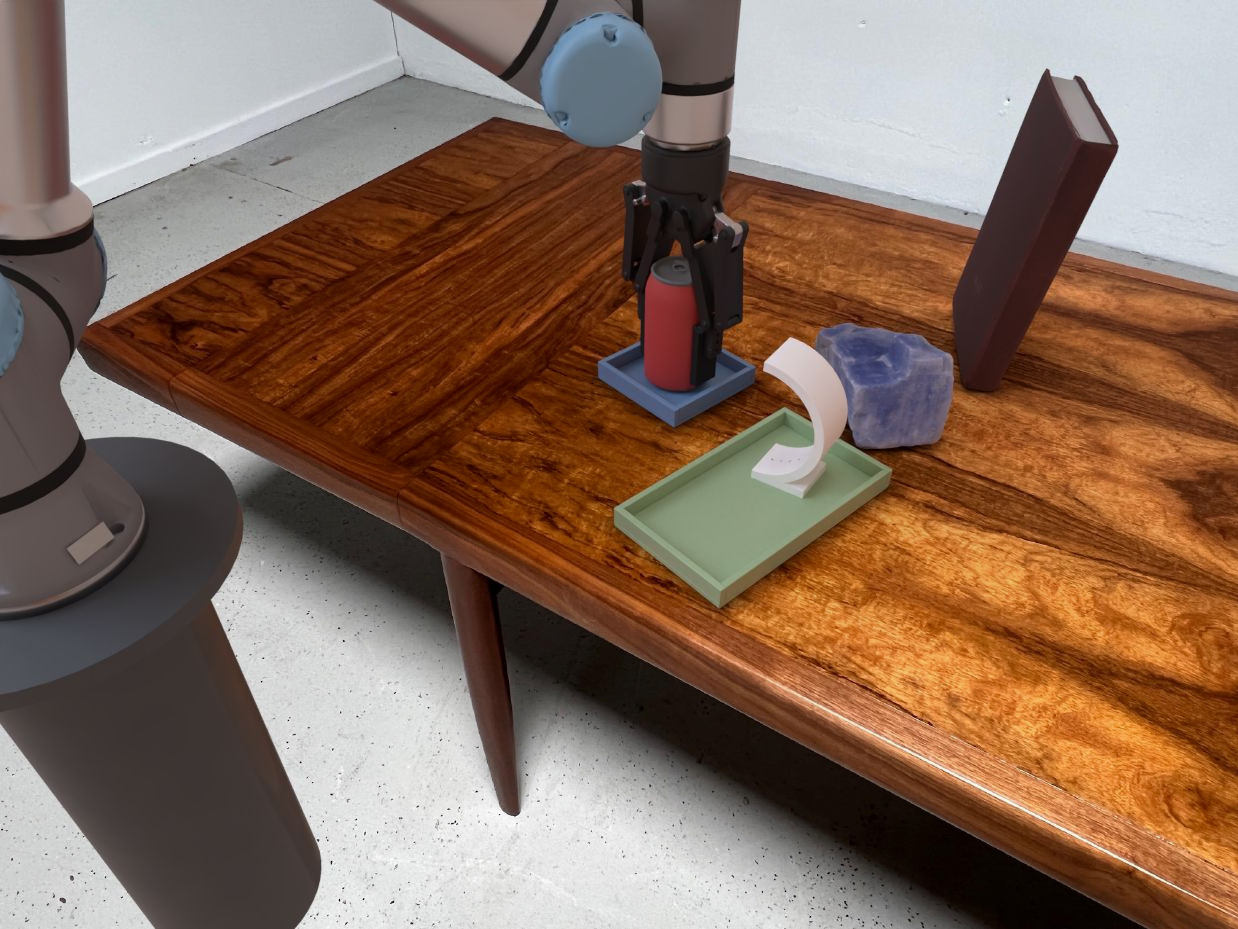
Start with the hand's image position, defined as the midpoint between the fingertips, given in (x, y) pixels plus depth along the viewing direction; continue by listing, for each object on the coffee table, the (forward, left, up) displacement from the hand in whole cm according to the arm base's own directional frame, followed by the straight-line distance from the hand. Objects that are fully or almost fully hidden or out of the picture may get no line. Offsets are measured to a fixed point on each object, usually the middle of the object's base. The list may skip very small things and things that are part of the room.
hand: (677, 364), depth 91 cm
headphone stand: (-3, -18, -2) cm, 18 cm away
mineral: (+11, -16, -2) cm, 19 cm away
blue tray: (0, 0, -2) cm, 2 cm away
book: (+28, -18, -2) cm, 33 cm away
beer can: (0, 0, -2) cm, 2 cm away
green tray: (-8, -18, -2) cm, 20 cm away
